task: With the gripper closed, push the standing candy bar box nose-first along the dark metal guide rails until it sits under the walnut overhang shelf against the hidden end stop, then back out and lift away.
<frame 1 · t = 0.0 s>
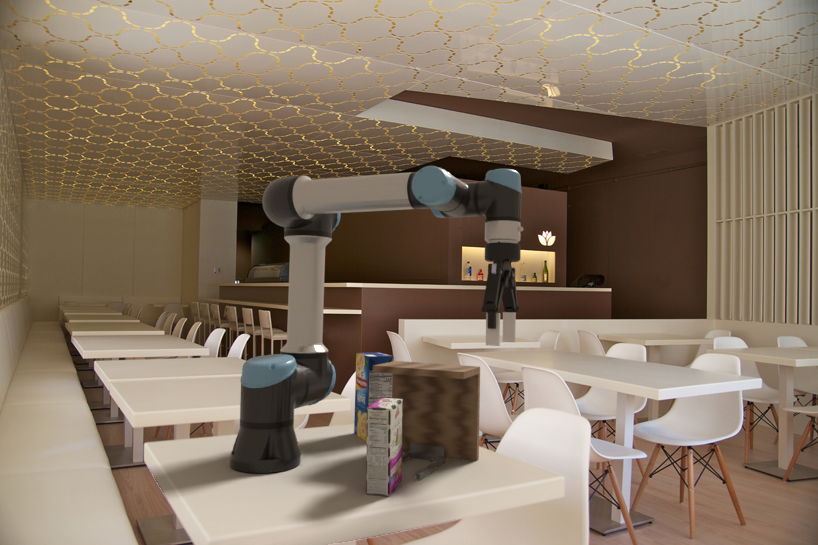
hand: (501, 343, 120), 28 cm above the table, tool pointing down, fingers open, 13 cm apart
blue cardboard box: (372, 437, 153), on the table
candy bar box: (383, 487, 112), on the table
overhang shelf: (415, 465, 126), on the table
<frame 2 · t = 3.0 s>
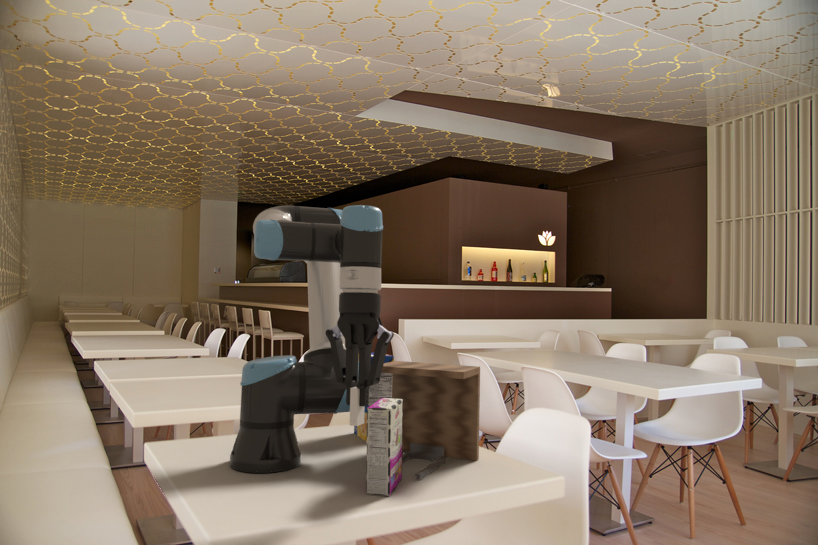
hand: (356, 424, 101), 14 cm above the table, tool pointing down, fingers closed
nothing on the table moved.
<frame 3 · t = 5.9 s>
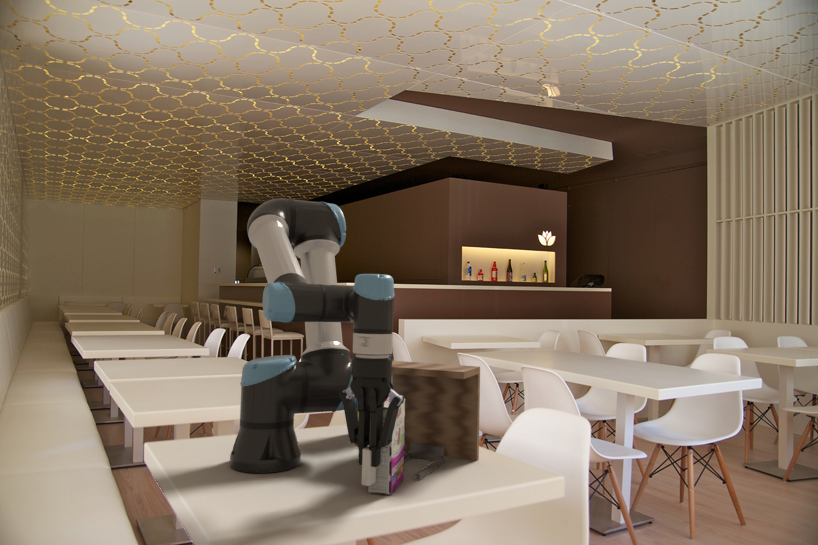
hand: (368, 483, 106), 2 cm above the table, tool pointing down, fingers closed
candy bar box: (385, 486, 112), on the table, touching gripper
everything else where it was.
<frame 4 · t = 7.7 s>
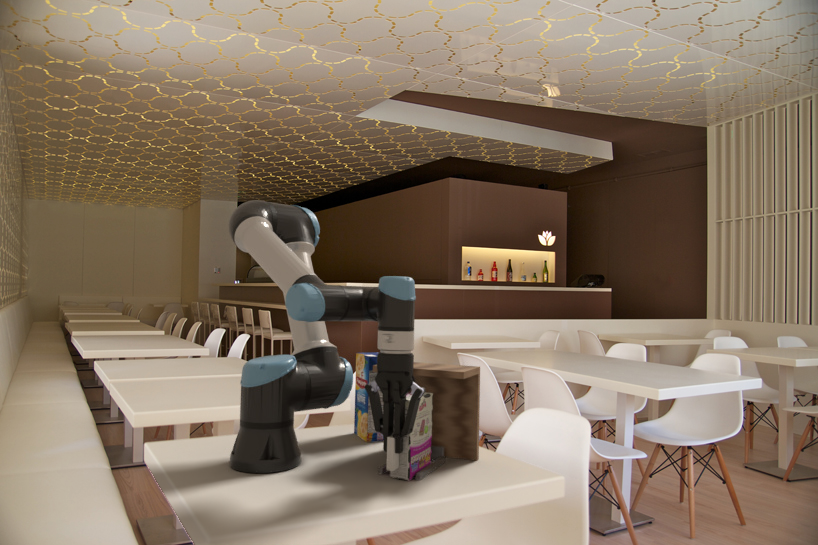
hand: (392, 468, 115), 3 cm above the table, tool pointing down, fingers closed
candy bar box: (410, 473, 121), on the table, touching gripper
everything else where it was.
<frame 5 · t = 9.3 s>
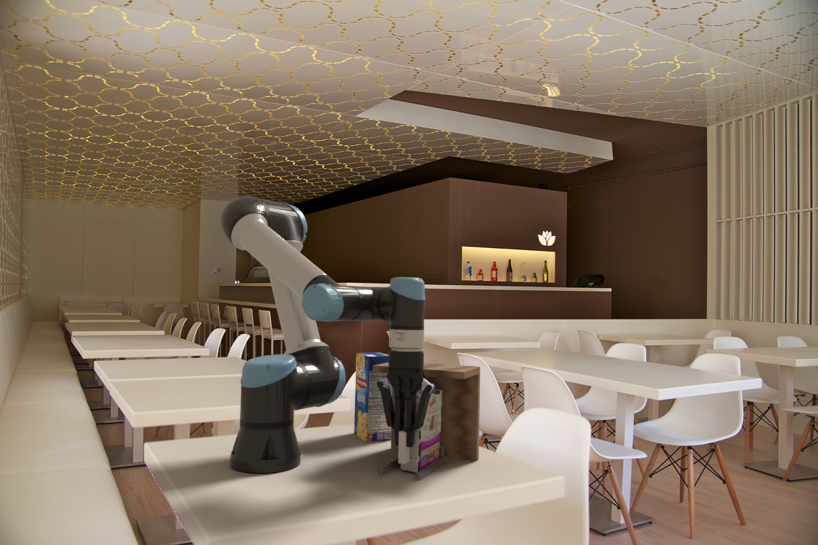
hand: (404, 461, 120), 3 cm above the table, tool pointing down, fingers closed
candy bar box: (419, 466, 126), on the table, touching gripper, hand
everything else where it was.
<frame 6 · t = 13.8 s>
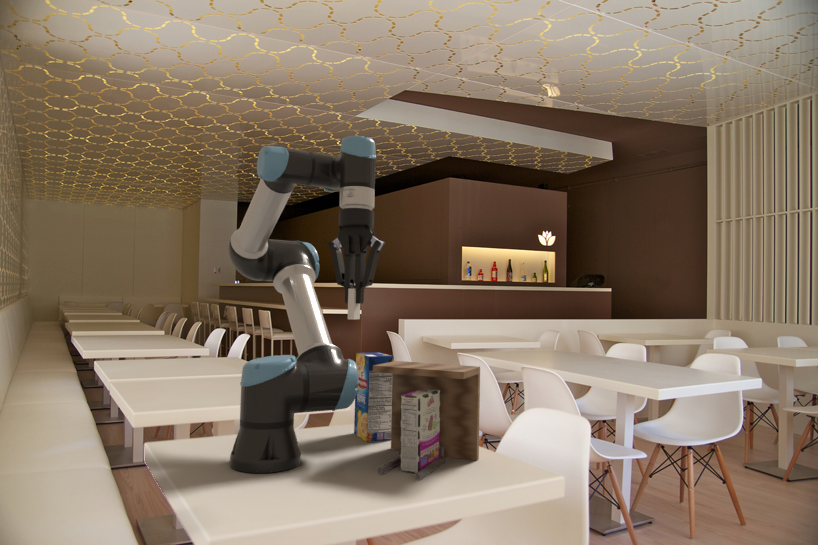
hand: (353, 319, 121), 32 cm above the table, tool pointing down, fingers closed
candy bar box: (419, 467, 126), on the table
everything else where it was.
at the end: candy bar box 1.1 cm from the target spot, on the table; candy bar box tilted 0°; the gripper is holding nothing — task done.
